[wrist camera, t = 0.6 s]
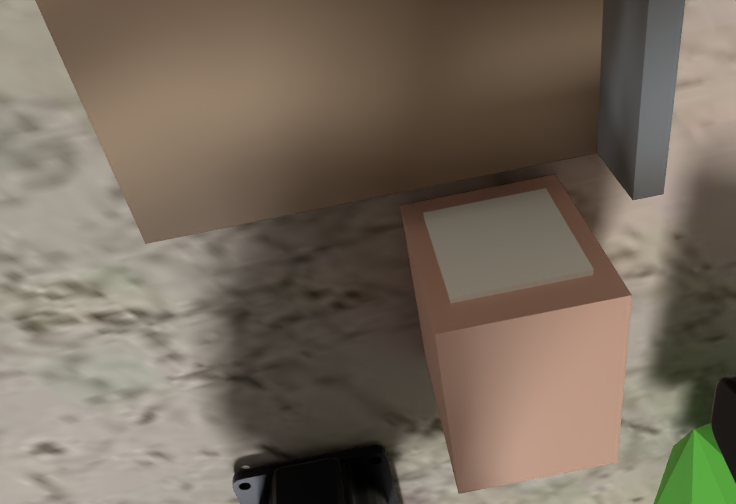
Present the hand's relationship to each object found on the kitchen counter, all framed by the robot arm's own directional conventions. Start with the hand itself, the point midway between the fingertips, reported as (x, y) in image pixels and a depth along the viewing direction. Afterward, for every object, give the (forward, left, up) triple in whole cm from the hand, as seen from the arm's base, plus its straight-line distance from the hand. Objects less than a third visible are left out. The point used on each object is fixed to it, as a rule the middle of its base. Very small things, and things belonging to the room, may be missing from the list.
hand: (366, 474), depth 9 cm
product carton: (-9, -4, -13) cm, 16 cm away
